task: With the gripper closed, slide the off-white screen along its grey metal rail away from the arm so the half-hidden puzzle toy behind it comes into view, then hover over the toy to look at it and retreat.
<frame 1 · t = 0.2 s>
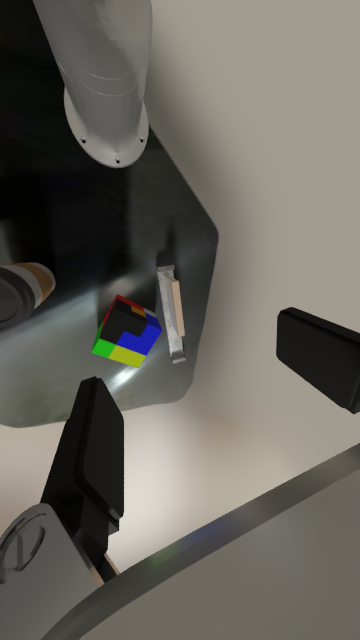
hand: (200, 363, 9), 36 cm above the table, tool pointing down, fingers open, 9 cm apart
screen: (173, 304, 40), point 6 cm above the table, slide at 0.0 cm
rail: (170, 315, 47), on the table
puzzle toy: (127, 320, 45), on the table
coffee cup: (38, 278, 36), on the table
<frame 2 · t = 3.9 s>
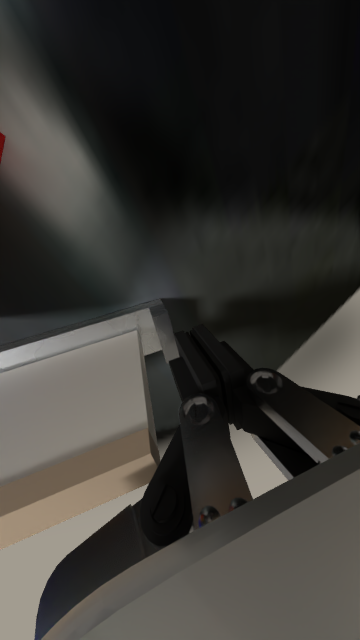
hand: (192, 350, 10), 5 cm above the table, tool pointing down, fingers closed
screen: (16, 421, 8), point 6 cm above the table, slide at 0.3 cm, touching gripper
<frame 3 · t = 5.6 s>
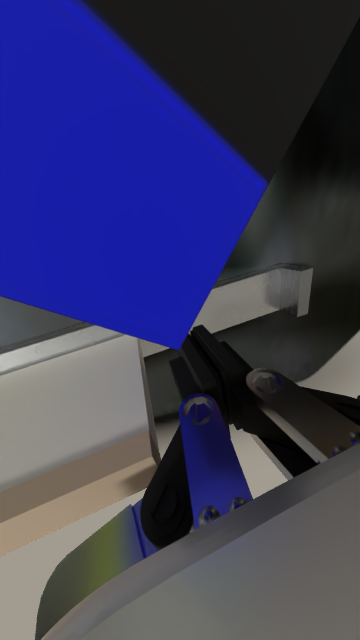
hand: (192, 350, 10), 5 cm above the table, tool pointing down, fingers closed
screen: (15, 425, 8), point 6 cm above the table, slide at 10.9 cm, touching gripper
rail: (136, 329, 14), on the table
puzzle toy: (88, 144, 10), on the table
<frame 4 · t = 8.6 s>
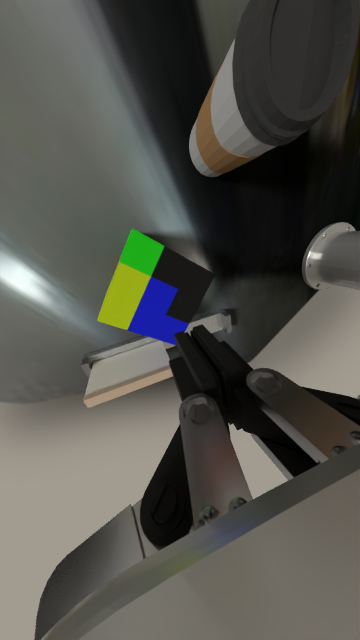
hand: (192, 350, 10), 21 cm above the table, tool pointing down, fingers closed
screen: (130, 368, 28), point 6 cm above the table, slide at 10.8 cm
rail: (160, 338, 34), on the table
puzzle toy: (148, 279, 29), on the table
coffee cup: (209, 150, 25), on the table
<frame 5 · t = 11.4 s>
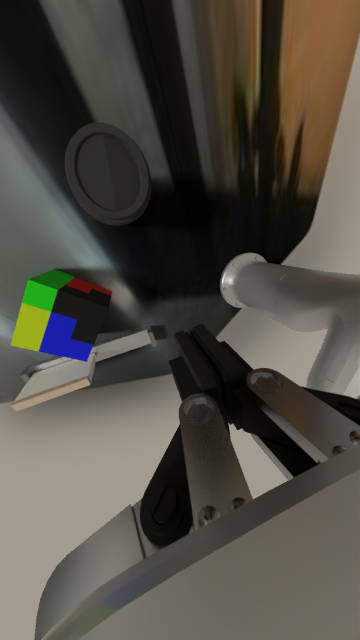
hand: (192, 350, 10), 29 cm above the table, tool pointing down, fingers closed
screen: (59, 378, 34), point 6 cm above the table, slide at 10.8 cm
rail: (95, 351, 40), on the table
puzzle toy: (77, 304, 35), on the table
coffee cup: (116, 203, 31), on the table
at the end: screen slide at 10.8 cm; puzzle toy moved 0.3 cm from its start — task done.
